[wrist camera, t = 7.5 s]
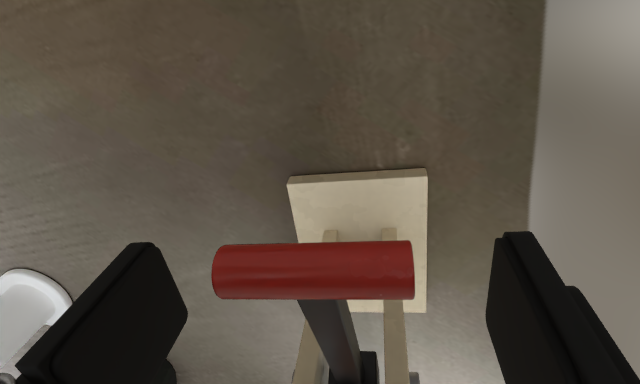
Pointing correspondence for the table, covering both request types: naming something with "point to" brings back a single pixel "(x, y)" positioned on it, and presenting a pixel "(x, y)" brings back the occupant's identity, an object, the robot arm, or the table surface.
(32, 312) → the candle
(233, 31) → the table surface
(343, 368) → the lever
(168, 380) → the sushi
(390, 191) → the bracket
